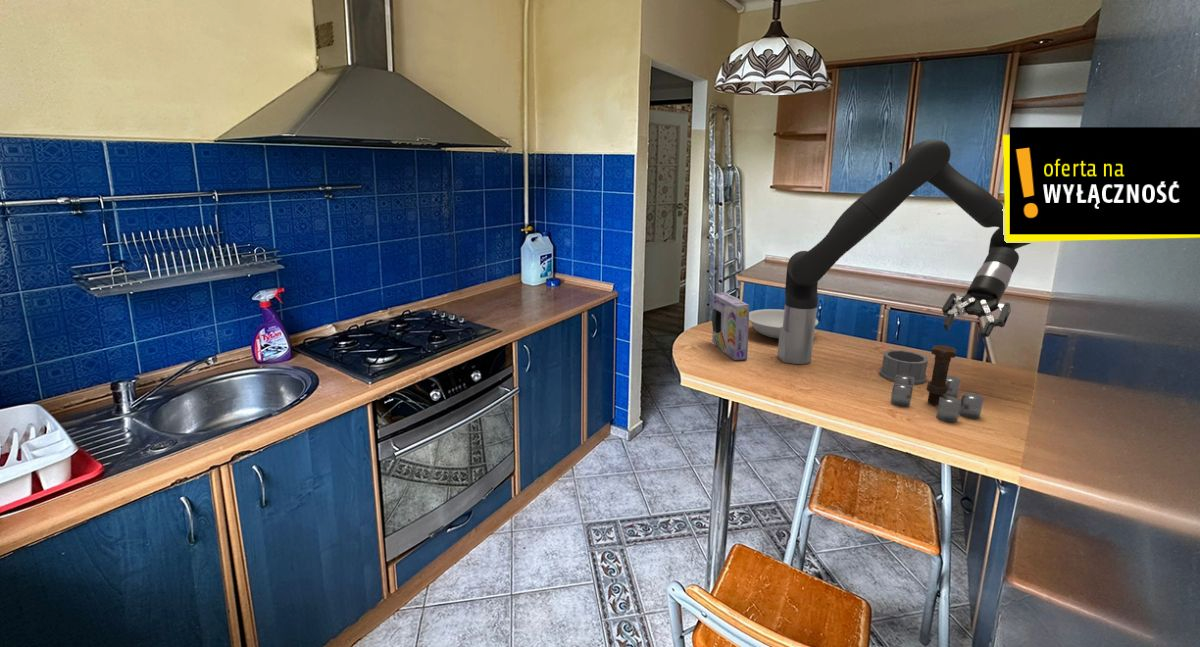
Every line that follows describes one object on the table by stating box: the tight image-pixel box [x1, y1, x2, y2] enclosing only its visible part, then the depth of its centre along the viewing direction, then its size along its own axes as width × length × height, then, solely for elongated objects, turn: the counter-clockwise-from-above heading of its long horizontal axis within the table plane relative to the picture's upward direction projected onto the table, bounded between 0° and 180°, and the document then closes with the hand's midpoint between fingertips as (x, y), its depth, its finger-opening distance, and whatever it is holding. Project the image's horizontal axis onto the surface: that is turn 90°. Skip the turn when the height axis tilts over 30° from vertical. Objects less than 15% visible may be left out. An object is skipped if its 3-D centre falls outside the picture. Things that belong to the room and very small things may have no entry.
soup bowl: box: [749, 308, 819, 339], centre depth 198 cm, size 24×24×7 cm
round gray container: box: [878, 349, 929, 385], centre depth 162 cm, size 12×12×6 cm
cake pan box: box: [711, 291, 750, 361], centre depth 180 cm, size 19×5×18 cm, turn 11°
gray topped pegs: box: [890, 373, 985, 424], centre depth 143 cm, size 19×19×5 cm
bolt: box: [926, 344, 958, 407], centre depth 142 cm, size 6×5×15 cm
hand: (964, 332), depth 146 cm, fingers open, 8 cm apart
